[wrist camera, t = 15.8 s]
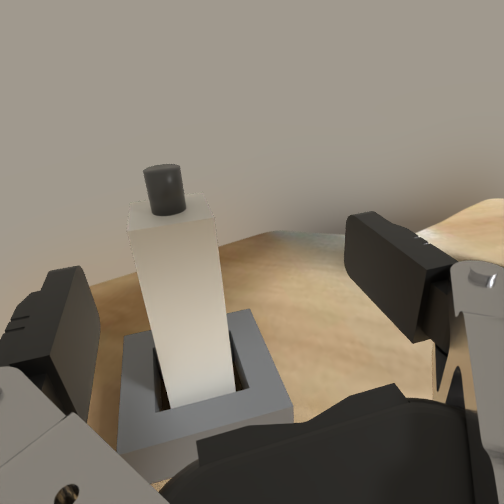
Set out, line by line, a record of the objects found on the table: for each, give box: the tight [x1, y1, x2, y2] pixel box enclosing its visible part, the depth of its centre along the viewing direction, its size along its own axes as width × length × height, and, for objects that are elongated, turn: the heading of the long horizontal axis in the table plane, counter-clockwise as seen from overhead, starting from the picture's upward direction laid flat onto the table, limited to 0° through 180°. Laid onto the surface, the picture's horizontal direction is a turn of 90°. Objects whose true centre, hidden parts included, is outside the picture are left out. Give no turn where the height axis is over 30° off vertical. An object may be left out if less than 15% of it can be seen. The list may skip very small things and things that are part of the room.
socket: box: [117, 309, 294, 484], centre depth 28 cm, size 11×11×4 cm
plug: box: [127, 164, 236, 409], centre depth 24 cm, size 5×5×18 cm
